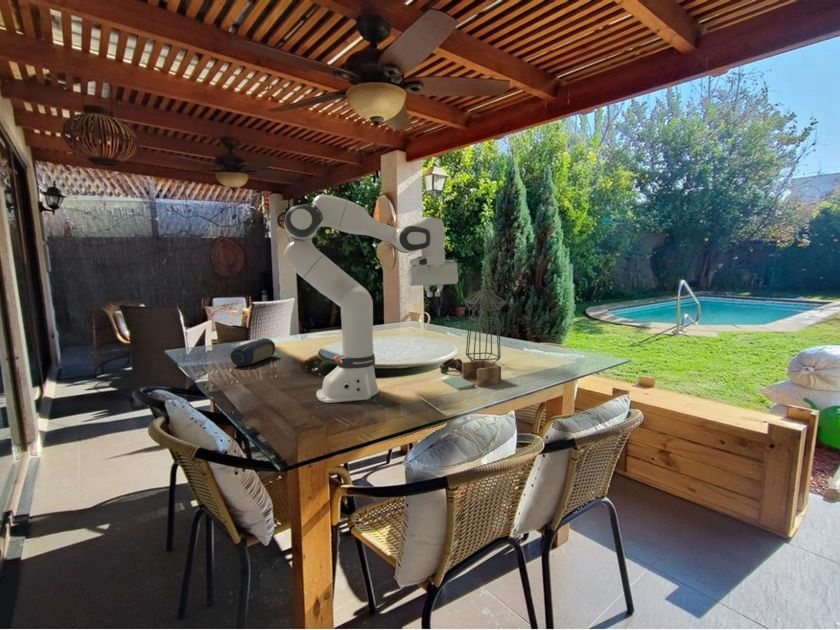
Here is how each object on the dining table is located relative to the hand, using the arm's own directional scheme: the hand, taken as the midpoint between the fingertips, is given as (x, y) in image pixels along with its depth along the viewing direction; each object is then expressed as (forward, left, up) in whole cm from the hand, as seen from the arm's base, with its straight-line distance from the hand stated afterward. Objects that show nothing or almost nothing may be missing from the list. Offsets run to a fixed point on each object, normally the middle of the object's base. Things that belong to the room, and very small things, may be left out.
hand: (433, 296), depth 164 cm
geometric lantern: (+32, +13, -34) cm, 49 cm away
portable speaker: (-61, +71, -34) cm, 100 cm away
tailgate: (+8, -10, -33) cm, 35 cm away
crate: (+15, -10, -34) cm, 39 cm away
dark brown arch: (+13, +7, -34) cm, 37 cm away
